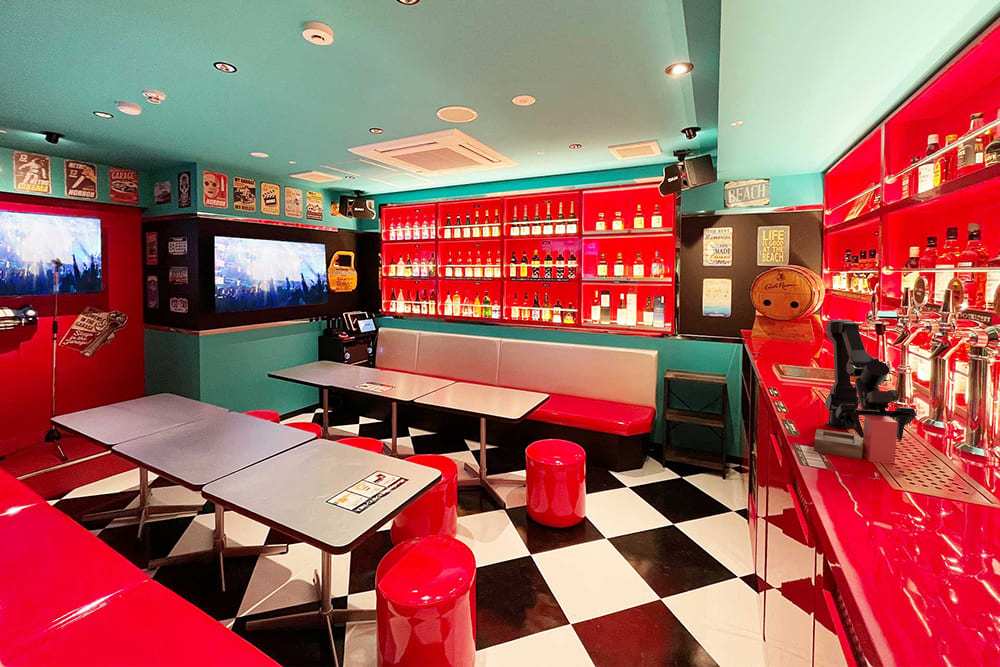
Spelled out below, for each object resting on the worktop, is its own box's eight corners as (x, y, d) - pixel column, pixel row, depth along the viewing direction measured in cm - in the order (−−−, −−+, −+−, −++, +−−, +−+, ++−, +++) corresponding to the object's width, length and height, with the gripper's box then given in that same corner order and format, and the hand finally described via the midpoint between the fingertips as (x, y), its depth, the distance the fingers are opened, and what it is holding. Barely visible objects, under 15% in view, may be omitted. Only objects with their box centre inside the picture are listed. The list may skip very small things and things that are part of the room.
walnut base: (816, 440, 157) (816, 428, 157) (861, 447, 150) (862, 435, 149) (813, 451, 147) (814, 438, 147) (861, 459, 140) (862, 446, 140)
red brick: (861, 454, 144) (864, 414, 143) (885, 456, 142) (888, 416, 141) (869, 461, 139) (872, 420, 137) (894, 463, 137) (897, 422, 135)
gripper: (841, 377, 145) (852, 423, 135) (916, 381, 138) (932, 428, 129) (831, 396, 153) (840, 440, 144) (901, 400, 147) (916, 446, 137)
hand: (881, 438), depth 138 cm, fingers open, 9 cm apart
